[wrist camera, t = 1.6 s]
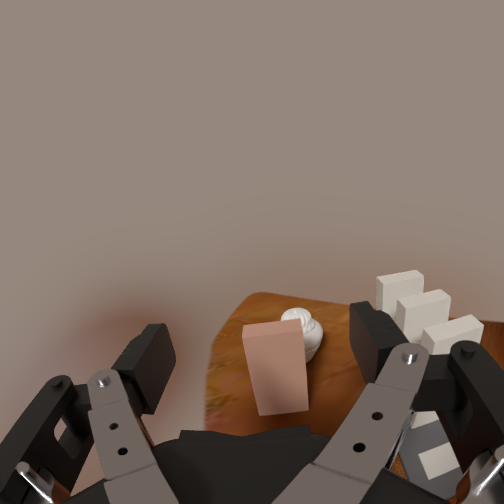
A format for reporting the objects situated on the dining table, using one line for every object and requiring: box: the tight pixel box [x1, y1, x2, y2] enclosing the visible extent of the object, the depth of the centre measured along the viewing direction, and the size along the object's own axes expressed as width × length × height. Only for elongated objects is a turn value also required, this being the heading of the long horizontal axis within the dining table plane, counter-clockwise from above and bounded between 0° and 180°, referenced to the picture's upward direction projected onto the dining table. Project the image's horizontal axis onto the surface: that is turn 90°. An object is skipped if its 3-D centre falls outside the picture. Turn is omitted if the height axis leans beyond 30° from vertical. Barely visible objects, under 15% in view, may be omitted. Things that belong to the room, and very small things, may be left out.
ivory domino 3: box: [410, 314, 484, 429], centre depth 19 cm, size 2×5×10 cm, turn 88°
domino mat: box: [398, 419, 463, 500], centre depth 23 cm, size 24×9×1 cm, turn 178°
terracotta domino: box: [242, 318, 309, 416], centre depth 26 cm, size 2×5×10 cm, turn 88°
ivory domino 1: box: [376, 270, 424, 322], centre depth 29 cm, size 2×5×10 cm, turn 88°
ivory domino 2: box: [395, 289, 451, 345], centre depth 24 cm, size 2×5×10 cm, turn 88°
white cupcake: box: [281, 308, 323, 363], centre depth 34 cm, size 6×6×7 cm
